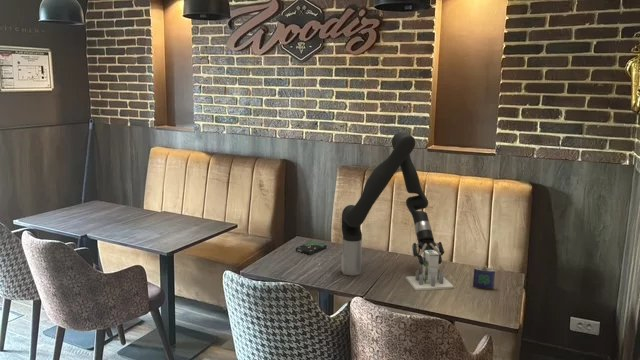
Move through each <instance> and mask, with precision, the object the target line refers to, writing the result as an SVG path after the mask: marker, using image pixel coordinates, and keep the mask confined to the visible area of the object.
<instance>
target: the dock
mask: <svg viewBox="0 0 640 360" xmlns="http://www.w3.org/2000/svg"><path fill="white" fill-rule="evenodd" d="M440 271H441V270H440V269H439V268H438V275H437V283H435V278H436V276H432V277H431V283H425V282H424V281H423V274H422V273H420V270H419V269H417V270H416V269H415V275H414V276H413V275H412V276H411V275H410V276H409V275H408V276H405V280H407V282H408V283H409V285H410V286H411V287H412V288H413V289H414V290H415V291H432V290H433V291H435V290H447V289H448V290H452V289H454V286H453V284H452V283H451V282H450V281H449V280H447V278H446V277H444V276H445V273H443V272H440Z"/></svg>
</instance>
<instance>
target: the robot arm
mask: <svg viewBox="0 0 640 360" xmlns="http://www.w3.org/2000/svg"><path fill="white" fill-rule="evenodd" d="M391 147H392V148H393V150H392V152H391V153H390V154H389V155H388V157H387V158H386V159H384V160H383V161H382V162H380V164H378V165H377V166H376V167H375V168H374V169H373V171H372V172H371V174H370V175H369V176H368V178H367V179H366V182H365V184H364V187H363V190H362V193H361V196H360V197H359V199H358V200H357V202H356V203H355V205H354V204H348V205H347V206H345V207H344V208H343V210H342V212H341V232H342V251H341V257H340V259H341V263H340V264H341V265H340V266H341V268H340V271H341V273H342V274H343V275H345V276H351V277H352V276H358V275H359V276H360V274H361V273H362V250H363V249H362V247H363V233H362V230H361V226H362V224H363V223H364V221H365V220H366V219H367V216H368V215H369V213H370V211H371V209H372V208H373V205H374V204H375V203H376V201H377V200H378V199H379V197H380V196H381V195H382V192H383V191H384V190H385V189H386V188H387V186H388V185H389V182H390V181H391V180H392V178H393V177H394V176H395V174H396V172H397V171H398V170H399V168H400V169H401V172H402V173H401V174H402V177H403V180H404V185H405V190H406V192H407V193H408V194H416V195H413V196H410V197H407V198H406V201H405V206H406V207H407V210H408V211H409V213H410V214H411V217H412V220H413V223H414V231H415V235H416V240H417V243H416V242H413V244H412V247H411V249H412V254H413V257H415V258H416V257H417V258H418V264H420V265H421V266H423V263H424V262H423V254H424V250H435V251H436V252H437V253H438V254H439V260H438V265H440V264H442V262H443V259H442V256H443V255H444V254H445V250H444V247H443V244H442V242H441V241H439V242H436V241H435V239H434V234H433V230H432V225H431V224H430V220H429V217H428V213H427V212H426V211H423V210H424V209H426V208H428V206H429V199H428V198H427V196H426V194H425V193H424V191H423V189H422V186H421V182H420V178H419V175H418V172H417V170H416V168H415V166H414V163H413V161H412V158H411V155H410V154H411V153H412V152H413V151H414V148H415V147H416V139H415V137H414V136H413V135H411V134H408V133H405V132H397V133H395V134H394V135H393V136H392V138H391ZM418 248H419V249H420V251H419V252H418V250H417V249H418Z"/></svg>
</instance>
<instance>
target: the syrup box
mask: <svg viewBox="0 0 640 360" xmlns="http://www.w3.org/2000/svg"><path fill="white" fill-rule="evenodd" d="M422 258H423V262H424V263H423V265H422V273H421V274H423V281H424V282H425V283H431V277H432V276H436V278H435V283H437V275H438V269H439V264H438V260H439V254H438V253H437V252H436V251H435V250H424V252H423V255H422Z"/></svg>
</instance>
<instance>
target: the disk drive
mask: <svg viewBox="0 0 640 360" xmlns="http://www.w3.org/2000/svg"><path fill="white" fill-rule="evenodd" d="M327 247H328V246H327V244H324V243H321V242H316V241H310V242H308V243H305V244H302V245H299V246H296V248H295V252H296V251H298V252H297V253H299V252H301V253H300V254H302V253H304V254H303V255H306V254H307V256H309V255H310V256H313V255H315V254H317V253H319V252H322V251H324V250H325V251H326V250H327Z"/></svg>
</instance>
